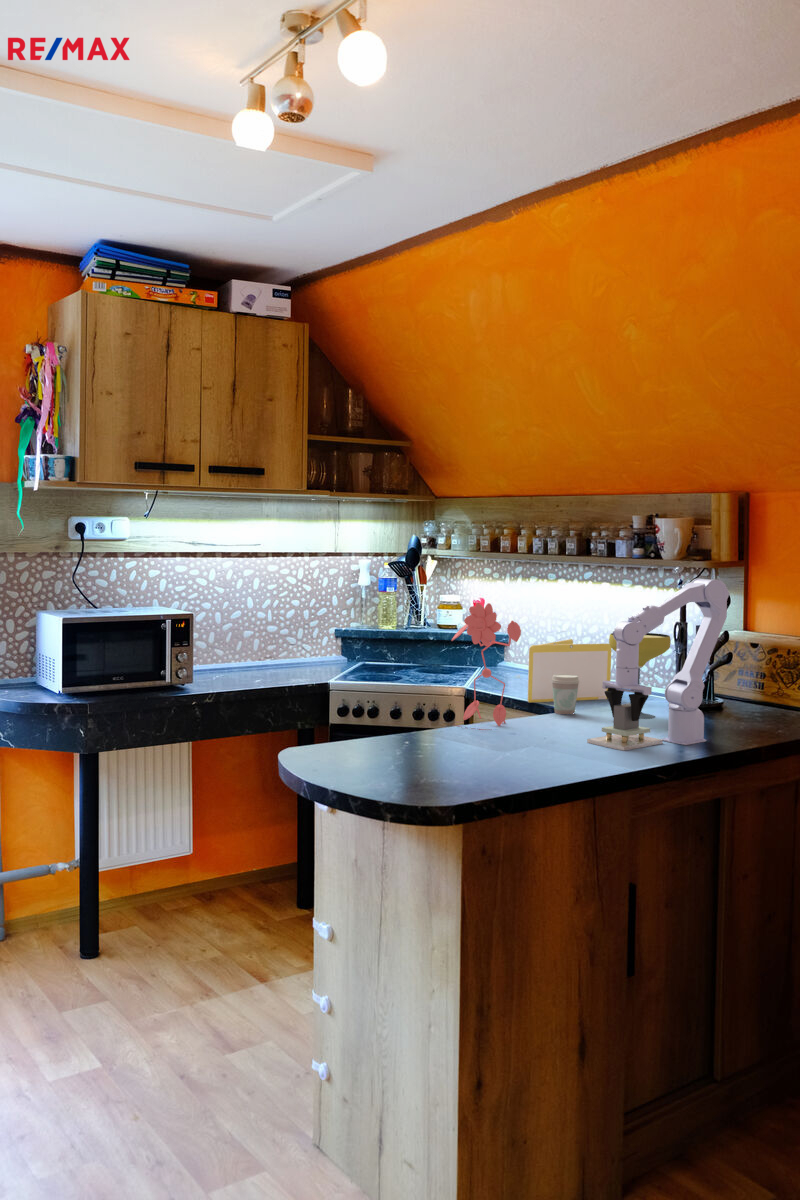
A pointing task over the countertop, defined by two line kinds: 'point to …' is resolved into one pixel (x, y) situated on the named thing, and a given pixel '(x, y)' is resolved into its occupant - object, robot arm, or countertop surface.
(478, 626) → the figurine
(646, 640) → the cocktail glass
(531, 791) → the countertop surface
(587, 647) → the tabletop whiteboard
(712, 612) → the robot arm
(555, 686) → the coffee cup
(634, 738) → the plate
